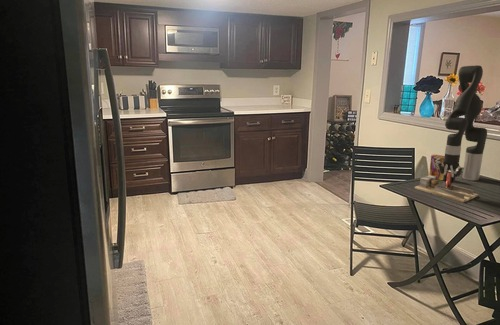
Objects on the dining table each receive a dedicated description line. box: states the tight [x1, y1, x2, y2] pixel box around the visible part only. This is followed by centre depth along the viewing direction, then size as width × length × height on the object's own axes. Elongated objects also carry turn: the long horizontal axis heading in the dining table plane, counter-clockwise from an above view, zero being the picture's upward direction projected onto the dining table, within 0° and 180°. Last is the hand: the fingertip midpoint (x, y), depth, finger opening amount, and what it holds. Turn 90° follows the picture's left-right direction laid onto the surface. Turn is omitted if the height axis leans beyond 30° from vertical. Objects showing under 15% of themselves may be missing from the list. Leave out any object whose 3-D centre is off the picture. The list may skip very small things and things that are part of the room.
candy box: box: [428, 153, 445, 181], centre depth 227 cm, size 9×4×15 cm, turn 39°
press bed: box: [414, 174, 479, 203], centre depth 203 cm, size 16×28×6 cm, turn 33°
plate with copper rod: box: [436, 171, 454, 190], centre depth 203 cm, size 8×6×11 cm
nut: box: [430, 179, 440, 188], centre depth 209 cm, size 4×4×4 cm
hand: (448, 181), depth 201 cm, fingers closed on plate with copper rod, 3 cm apart
